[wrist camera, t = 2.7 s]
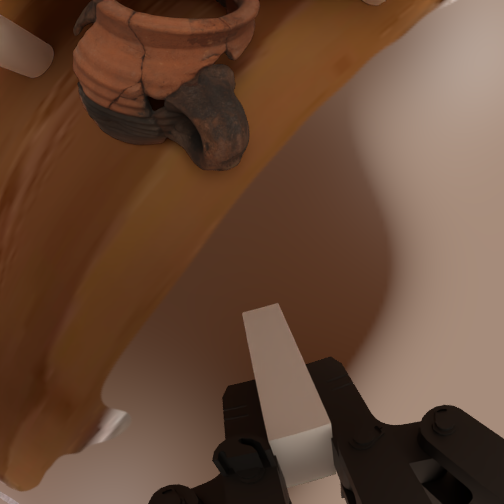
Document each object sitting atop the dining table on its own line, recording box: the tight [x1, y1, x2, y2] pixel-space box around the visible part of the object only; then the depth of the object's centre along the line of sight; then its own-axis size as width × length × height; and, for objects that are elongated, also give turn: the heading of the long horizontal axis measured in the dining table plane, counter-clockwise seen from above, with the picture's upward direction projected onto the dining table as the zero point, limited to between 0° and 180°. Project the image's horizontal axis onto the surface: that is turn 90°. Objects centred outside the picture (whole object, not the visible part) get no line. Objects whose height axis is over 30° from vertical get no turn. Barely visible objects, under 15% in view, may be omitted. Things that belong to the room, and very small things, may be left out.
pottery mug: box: [73, 0, 260, 171], centre depth 13 cm, size 12×10×8 cm
